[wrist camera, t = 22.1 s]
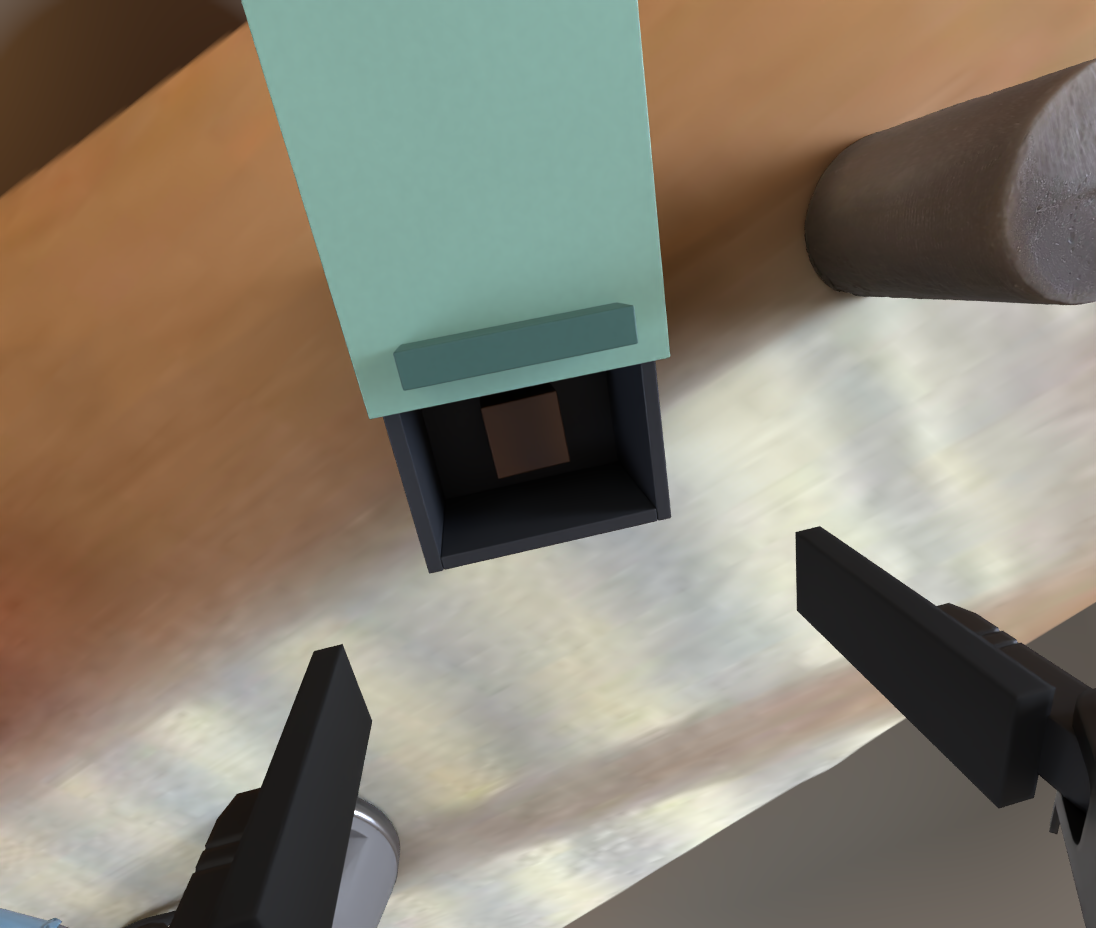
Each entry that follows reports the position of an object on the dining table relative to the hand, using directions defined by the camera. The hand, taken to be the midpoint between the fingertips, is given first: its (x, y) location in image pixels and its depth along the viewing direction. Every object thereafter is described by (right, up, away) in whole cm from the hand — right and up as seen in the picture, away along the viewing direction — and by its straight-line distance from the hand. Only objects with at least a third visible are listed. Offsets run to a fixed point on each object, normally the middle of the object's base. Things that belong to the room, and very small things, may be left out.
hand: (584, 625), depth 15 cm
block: (-3, +8, +20) cm, 21 cm away
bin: (-3, +11, +19) cm, 22 cm away
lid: (-4, +16, +8) cm, 19 cm away
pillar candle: (+20, +21, +20) cm, 35 cm away
